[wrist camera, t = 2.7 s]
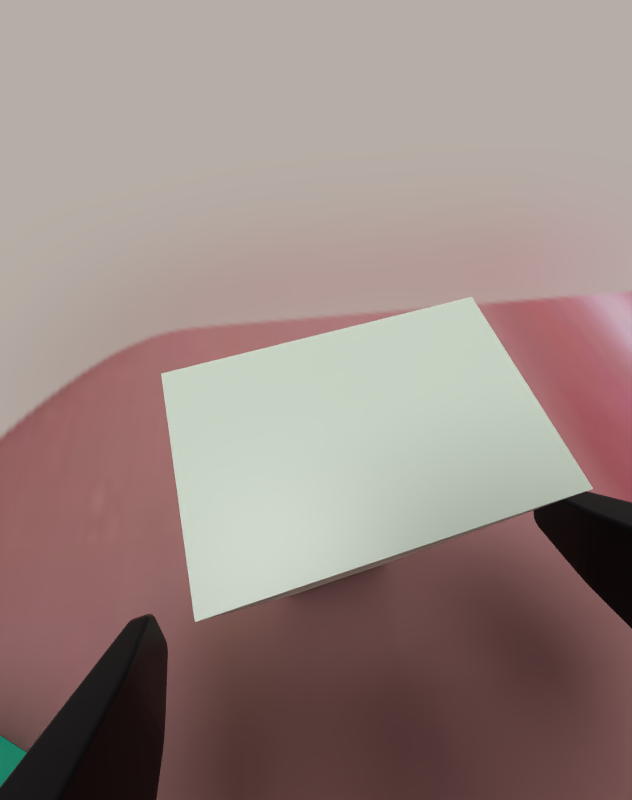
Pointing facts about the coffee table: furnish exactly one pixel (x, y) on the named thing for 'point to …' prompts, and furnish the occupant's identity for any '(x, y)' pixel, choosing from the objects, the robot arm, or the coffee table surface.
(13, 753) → the candle
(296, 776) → the coffee table surface
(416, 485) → the pale green upright box
